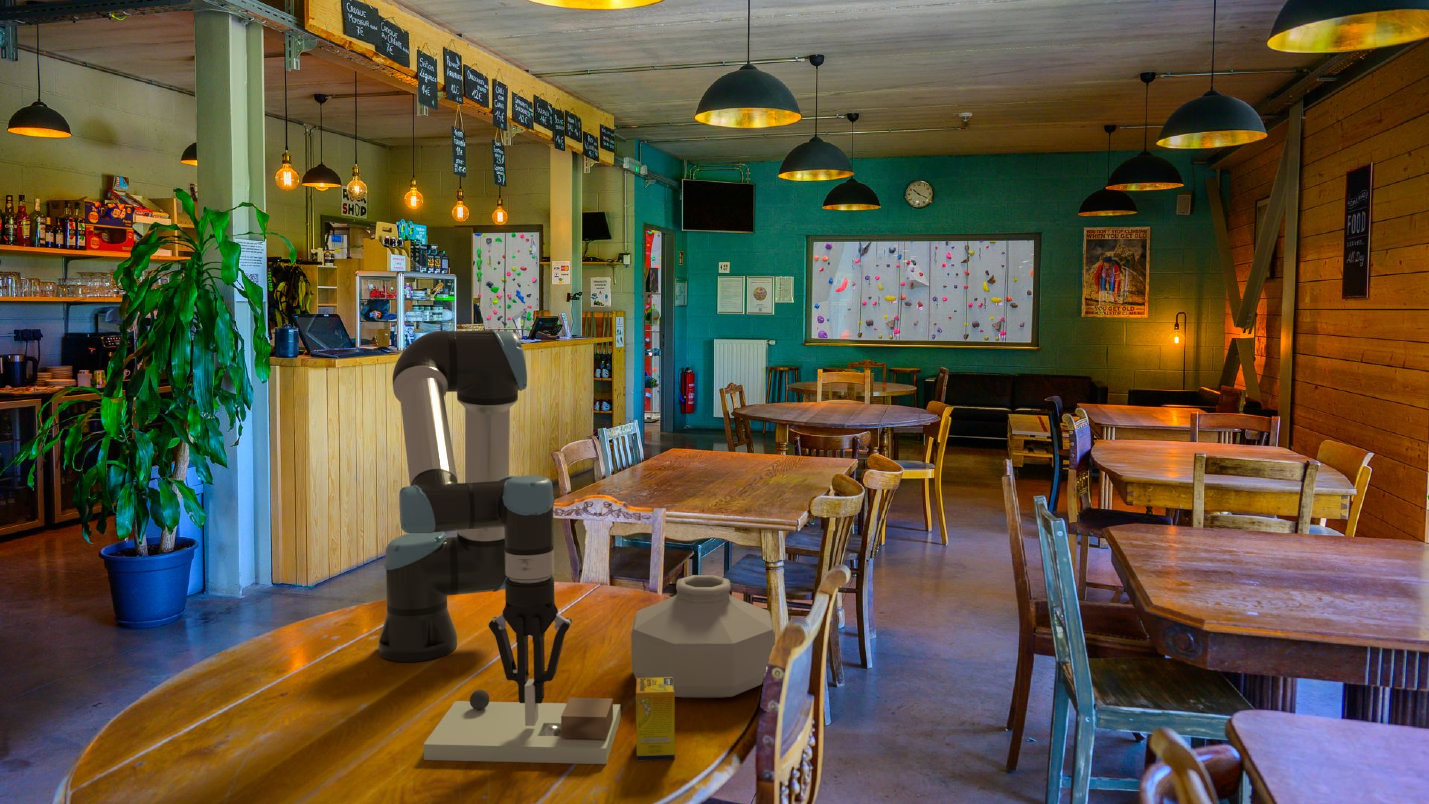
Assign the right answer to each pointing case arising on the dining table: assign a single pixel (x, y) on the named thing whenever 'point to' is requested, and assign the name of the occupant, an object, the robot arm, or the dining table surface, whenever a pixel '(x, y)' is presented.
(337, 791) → the dining table surface
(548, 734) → the ball
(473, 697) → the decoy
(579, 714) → the cover
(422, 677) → the dining table surface
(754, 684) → the pot
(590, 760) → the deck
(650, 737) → the supplement box
